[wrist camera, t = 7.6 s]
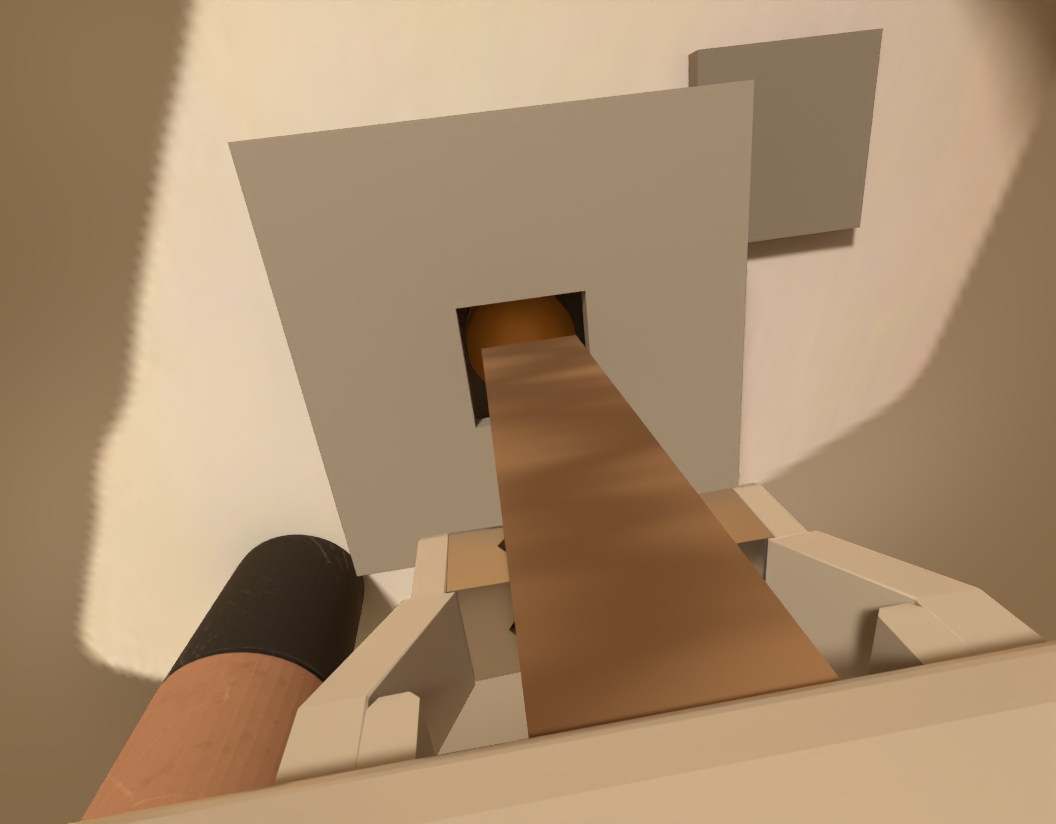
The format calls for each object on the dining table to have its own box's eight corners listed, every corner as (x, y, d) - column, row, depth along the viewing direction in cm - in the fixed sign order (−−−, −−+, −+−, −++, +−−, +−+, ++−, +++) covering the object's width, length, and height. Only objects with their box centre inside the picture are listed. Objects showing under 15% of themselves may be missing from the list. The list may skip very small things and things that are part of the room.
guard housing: (666, 110, 24) (754, 79, 17) (671, 434, 31) (737, 513, 23) (301, 154, 24) (227, 142, 16) (383, 479, 30) (357, 576, 22)
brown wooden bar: (575, 334, 17) (1196, 1144, 3) (583, 421, 19) (1045, 1317, 4) (481, 348, 17) (595, 1295, 3) (495, 435, 18) (626, 1425, 4)
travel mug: (323, 655, 34) (159, 1210, 16) (205, 598, 32) (-155, 1179, 13) (396, 572, 32) (307, 1088, 14) (277, 505, 30) (-23, 1025, 11)
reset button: (560, 270, 24) (571, 280, 21) (569, 367, 25) (579, 386, 23) (458, 284, 23) (457, 296, 21) (474, 381, 25) (475, 401, 23)
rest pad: (866, 34, 24) (882, 28, 23) (846, 225, 27) (859, 227, 26) (688, 54, 24) (697, 49, 23) (689, 247, 27) (696, 249, 26)
